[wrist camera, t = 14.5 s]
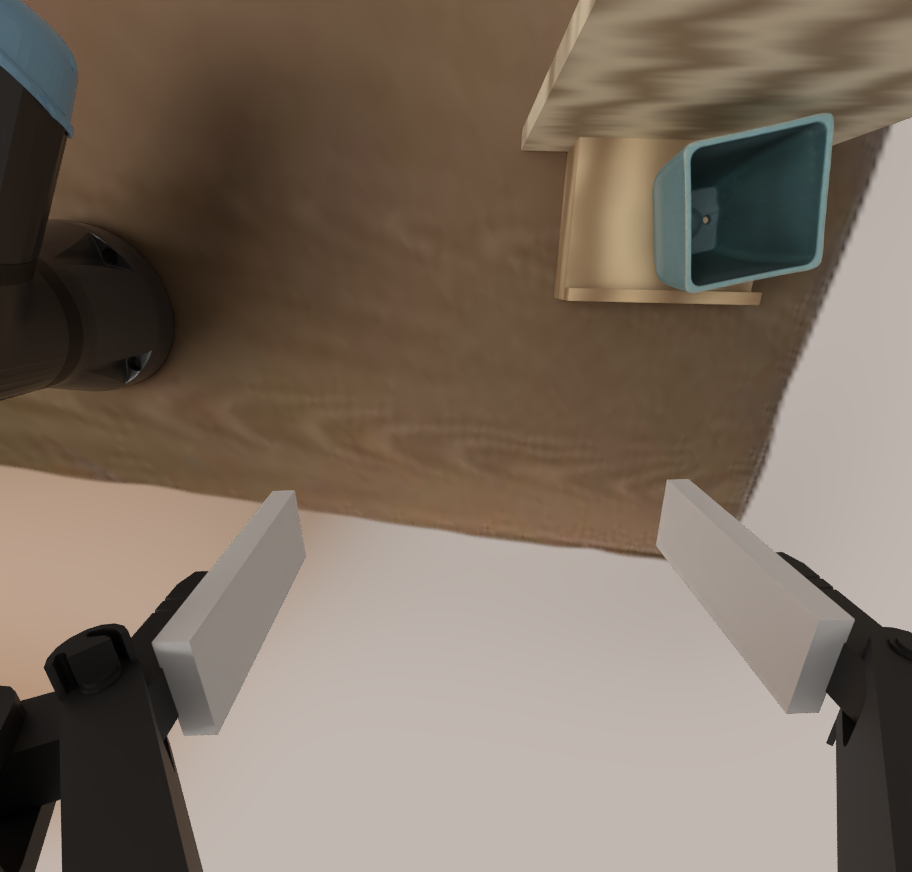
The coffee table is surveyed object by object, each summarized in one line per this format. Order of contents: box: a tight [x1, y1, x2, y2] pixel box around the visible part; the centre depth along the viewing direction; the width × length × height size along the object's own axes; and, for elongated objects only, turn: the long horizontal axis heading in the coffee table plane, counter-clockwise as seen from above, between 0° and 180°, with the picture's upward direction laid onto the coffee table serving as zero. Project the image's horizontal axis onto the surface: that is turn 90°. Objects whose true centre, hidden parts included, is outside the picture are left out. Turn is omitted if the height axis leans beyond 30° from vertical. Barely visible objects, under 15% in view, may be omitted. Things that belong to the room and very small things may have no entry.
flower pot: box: [652, 113, 834, 293], centre depth 31 cm, size 9×9×9 cm
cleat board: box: [521, 0, 912, 305], centre depth 28 cm, size 24×14×22 cm, turn 89°
